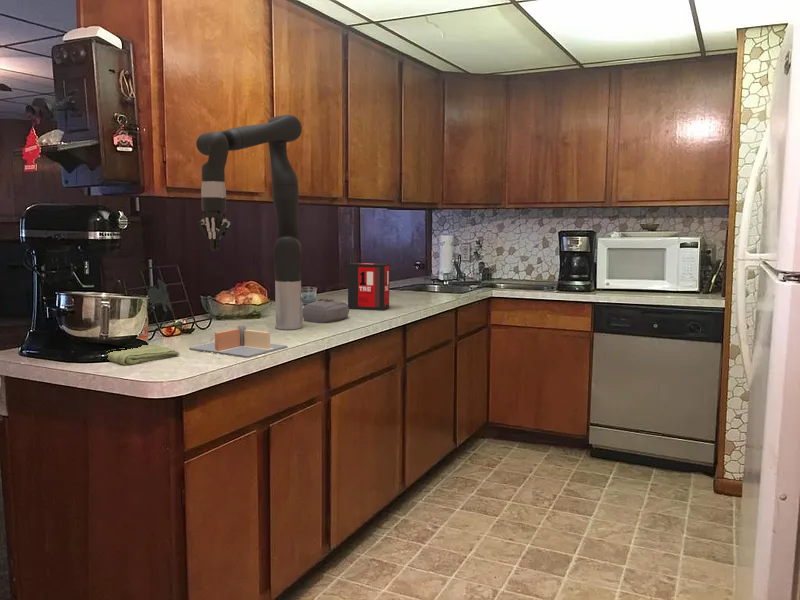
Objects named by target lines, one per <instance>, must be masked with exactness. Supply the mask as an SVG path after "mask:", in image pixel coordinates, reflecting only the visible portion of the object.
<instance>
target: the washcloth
mask: <svg viewBox="0 0 800 600" xmlns="http://www.w3.org/2000/svg"><path fill="white" fill-rule="evenodd" d="M107 355H108V358H107V359H108V360H109V361H108V362H111V363H117V364H118V365H122V366H133V365H136V364H137V365H138V364H144V363H149V362H148V361H150V362H154V361H157V360H158V359H159V360H162V359H163V358H164V359H168V357H169V358H174V356H175V357H178V356H179V355H180V352H179V351H177V350H176V349H173V348H169V347H168V346H161V345H159V344H148V345H142V346H141V347H138V348H133V349H132V348H131V349H127V350H121V351H113V352H110V353H108V354H107ZM153 360H154V361H153Z"/></svg>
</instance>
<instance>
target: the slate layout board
mask: <svg viewBox="0 0 800 600" xmlns="http://www.w3.org/2000/svg"><path fill="white" fill-rule="evenodd" d="M237 329H240V345H239V346H235V347H230V348H226V349H221V350H215V341H214V342H210V343H206V344H201V345H196V346H192V347H189V348H188V349H190V351H196V350H198V352H203V351H205V352H204V353H210V352H213V353H212V354H217V353H219V355H224V354H226V356H231V355H233V357H240V358H247V359H249V358H252V357H257V356H260V355H264V354H267V353H271V352H274V351H279V350H283V349H286V348H288V345H284V344H276V343H271V332H270V331H269V332H268V331H261V330H254V329H247V326H245V325H238V326H237Z"/></svg>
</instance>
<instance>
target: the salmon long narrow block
mask: <svg viewBox="0 0 800 600" xmlns="http://www.w3.org/2000/svg"><path fill="white" fill-rule="evenodd" d="M214 342H215V350H221V349H226V348H230V347H235V346H239V345H240V329H238V328H234V329H229V330H224V331H219V332H218V331H217V332H215V333H214Z"/></svg>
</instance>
